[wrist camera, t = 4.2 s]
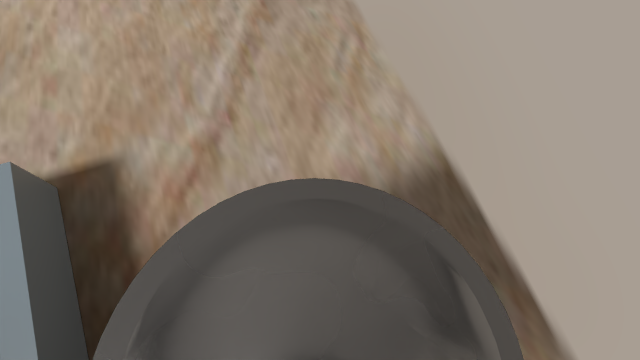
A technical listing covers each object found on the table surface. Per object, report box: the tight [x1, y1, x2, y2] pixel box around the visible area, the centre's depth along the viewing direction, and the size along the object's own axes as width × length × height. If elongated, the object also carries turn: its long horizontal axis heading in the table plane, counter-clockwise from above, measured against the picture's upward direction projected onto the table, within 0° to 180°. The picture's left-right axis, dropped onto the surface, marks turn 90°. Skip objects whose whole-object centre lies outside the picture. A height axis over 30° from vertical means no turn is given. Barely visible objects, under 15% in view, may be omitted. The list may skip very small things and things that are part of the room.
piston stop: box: [93, 178, 524, 360], centre depth 9 cm, size 5×5×12 cm
